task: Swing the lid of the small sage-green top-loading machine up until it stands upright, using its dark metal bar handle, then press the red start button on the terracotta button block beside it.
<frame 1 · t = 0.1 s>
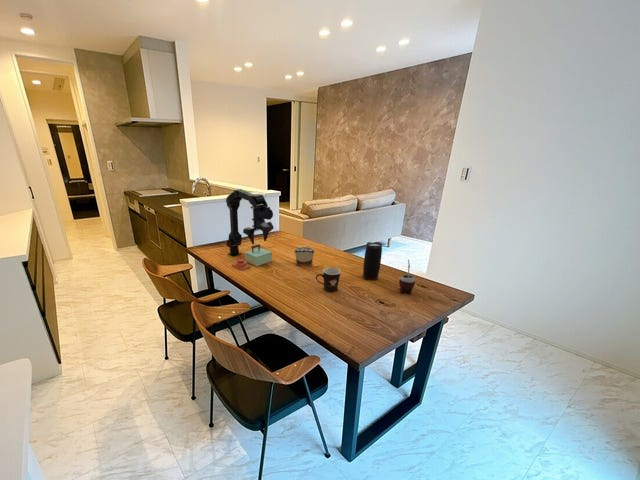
hand: (259, 242, 178), 15 cm above the table, tool pointing down, fingers open, 9 cm apart
food container: (304, 263, 186), on the table
start button: (240, 261, 181), point 3 cm above the table, slide at 0.1 cm
machine lid: (258, 249, 188), point 8 cm above the table, hinge at 0.0°
mate gourd: (404, 291, 148), on the table
button block: (241, 266, 182), on the table
machine: (258, 261, 191), on the table
coffee mug: (327, 289, 153), on the table
portable speaker: (370, 277, 164), on the table
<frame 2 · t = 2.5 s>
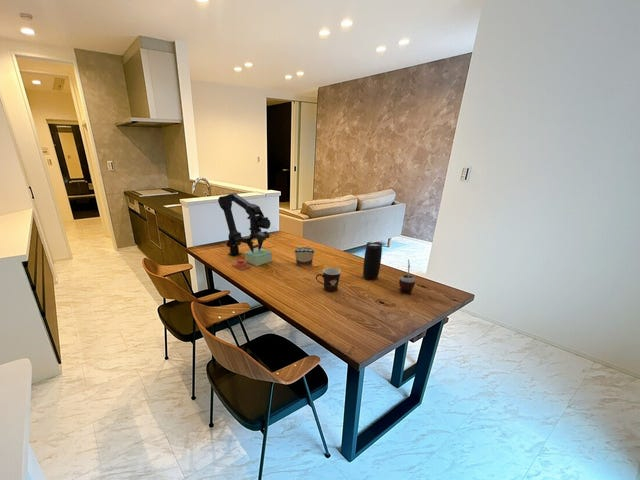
hand: (255, 250, 190), 7 cm above the table, tool pointing down, fingers closed on machine lid, 6 cm apart
machine lid: (258, 249, 188), point 8 cm above the table, hinge at 0.0°, touching gripper
everything else where it was.
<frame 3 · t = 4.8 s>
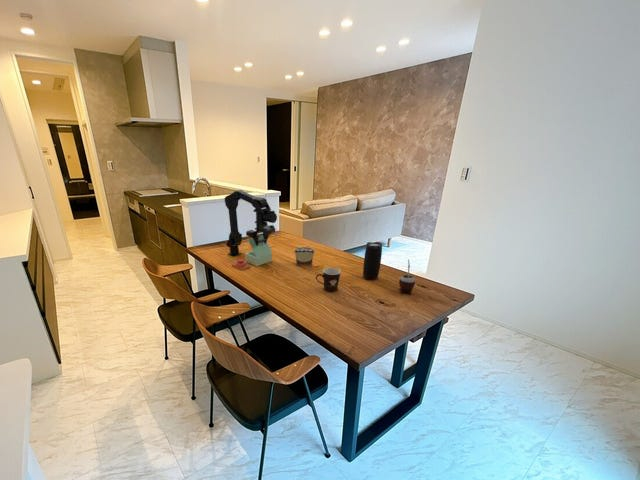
hand: (261, 244, 184), 12 cm above the table, tool pointing down, fingers closed on machine lid, 6 cm apart
machine lid: (261, 244, 183), point 12 cm above the table, hinge at 52.1°, touching gripper
everything else where it was.
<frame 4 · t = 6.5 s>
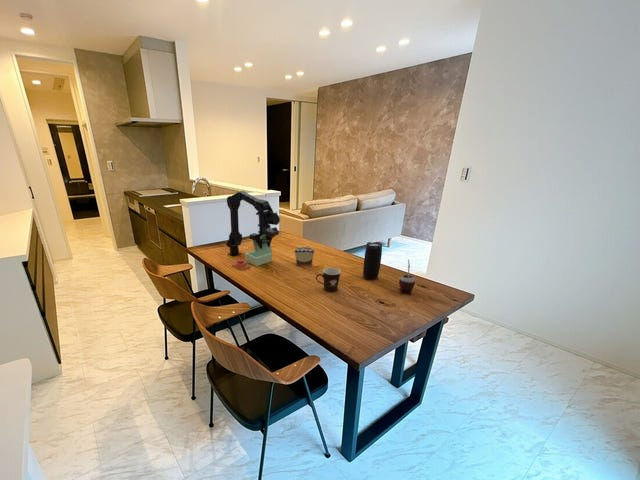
hand: (265, 248, 182), 11 cm above the table, tool pointing down, fingers open, 5 cm apart
machine lid: (264, 245, 181), point 12 cm above the table, hinge at 75.7°
everything else where it was.
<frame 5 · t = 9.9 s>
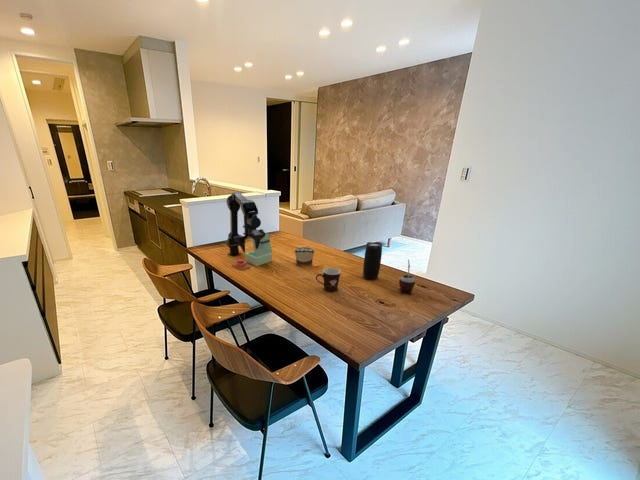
hand: (250, 250, 172), 12 cm above the table, tool pointing down, fingers open, 9 cm apart
nothing on the table moved.
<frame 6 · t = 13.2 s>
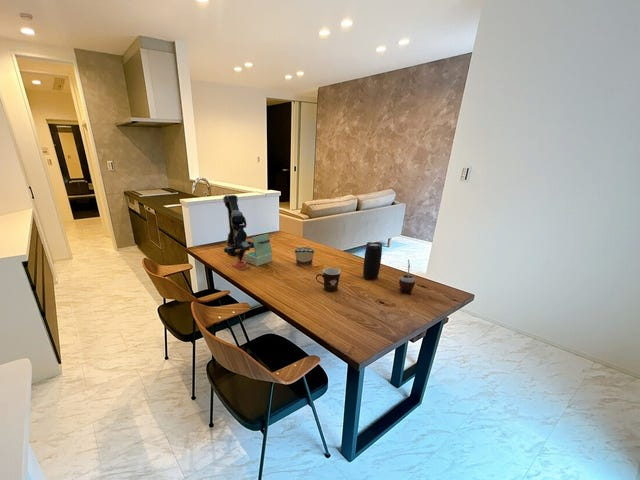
hand: (240, 260, 181), 4 cm above the table, tool pointing down, fingers closed, pressing on start button
start button: (240, 262, 181), point 3 cm above the table, slide at -0.3 cm, touching gripper
everything else where it was.
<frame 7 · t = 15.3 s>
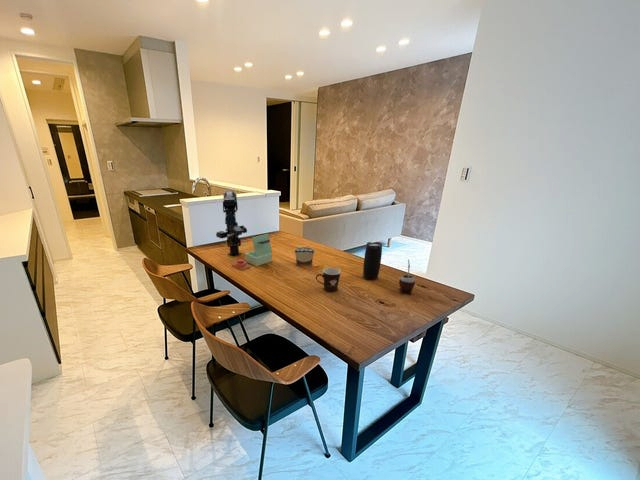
hand: (233, 245, 180), 13 cm above the table, tool pointing down, fingers closed
start button: (240, 261, 181), point 3 cm above the table, slide at 0.1 cm
everything else where it was.
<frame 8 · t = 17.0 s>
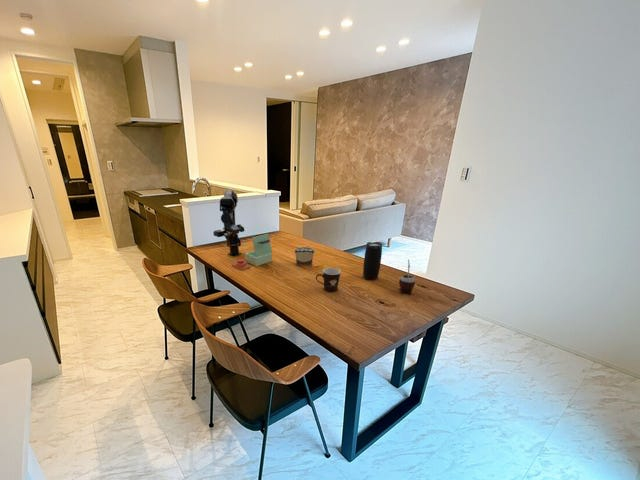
hand: (230, 244, 181), 13 cm above the table, tool pointing down, fingers closed
nothing on the table moved.
at the end: machine lid at +76° (first picture: +0°); start button pushed in 1.1 cm at the most during the clip, back to where it started at the end; start button slide at 0.1 cm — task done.
